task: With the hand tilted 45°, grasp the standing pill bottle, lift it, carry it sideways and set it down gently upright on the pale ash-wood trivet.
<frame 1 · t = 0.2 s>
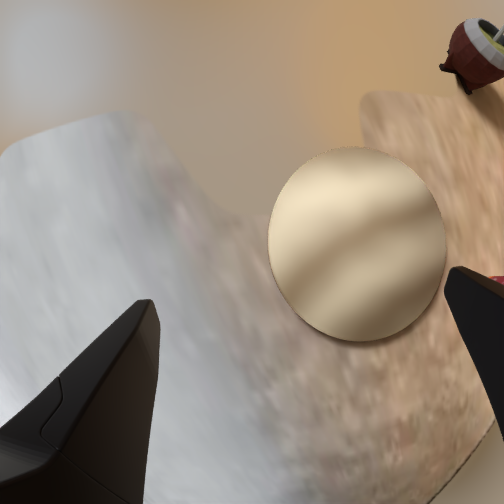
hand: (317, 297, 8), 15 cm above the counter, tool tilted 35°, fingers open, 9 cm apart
mate gourd: (457, 70, 25), on the counter
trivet: (362, 242, 24), on the counter
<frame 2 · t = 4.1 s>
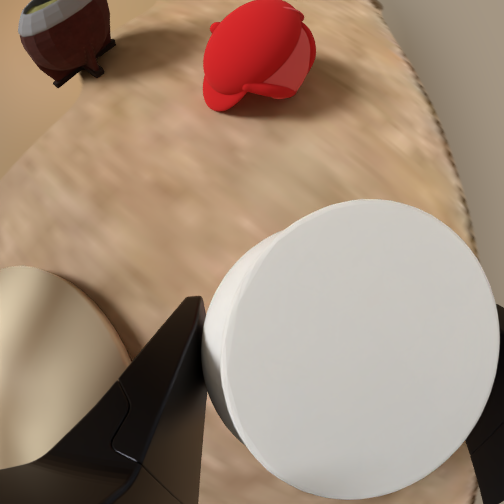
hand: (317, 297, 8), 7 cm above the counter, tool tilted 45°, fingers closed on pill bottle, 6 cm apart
mate gourd: (86, 62, 20), on the counter
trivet: (30, 395, 13), on the counter
cap: (254, 85, 19), on the counter
pill bottle: (291, 343, 15), on the counter, touching gripper
when the fingers open (9 cm above the counter, at t = 8.3 s): pill bottle drops 1 cm, resting on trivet.
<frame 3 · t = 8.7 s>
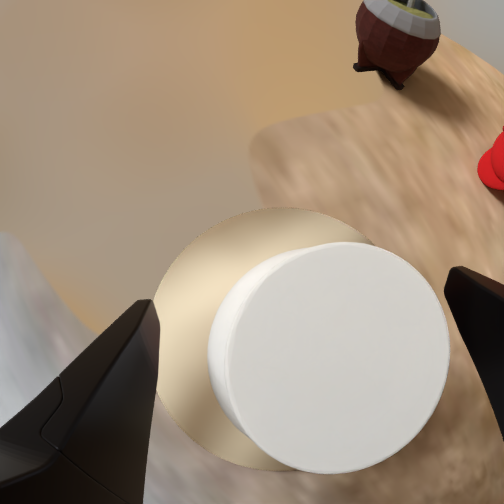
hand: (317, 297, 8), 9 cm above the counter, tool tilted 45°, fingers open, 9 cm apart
mate gourd: (379, 65, 23), on the counter
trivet: (284, 341, 17), on the counter
cap: (500, 175, 21), on the counter
pill bottle: (286, 346, 16), point 1 cm above the counter, touching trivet
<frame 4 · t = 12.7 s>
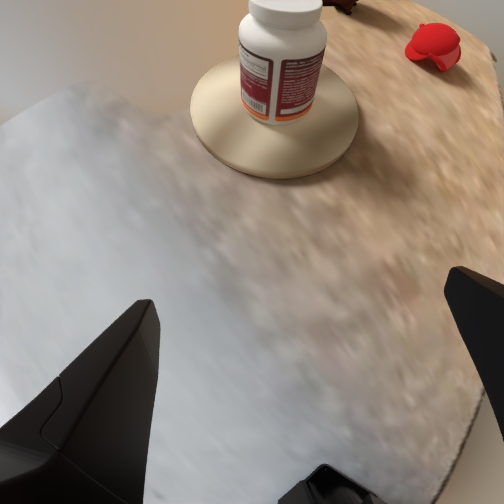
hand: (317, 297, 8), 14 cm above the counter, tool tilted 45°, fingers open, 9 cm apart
mate gourd: (336, 4, 33), on the counter
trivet: (275, 108, 26), on the counter
cap: (426, 60, 30), on the counter
pill bottle: (275, 102, 25), point 1 cm above the counter, touching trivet
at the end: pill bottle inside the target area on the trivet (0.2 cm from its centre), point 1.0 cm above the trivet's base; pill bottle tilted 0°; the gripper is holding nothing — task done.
